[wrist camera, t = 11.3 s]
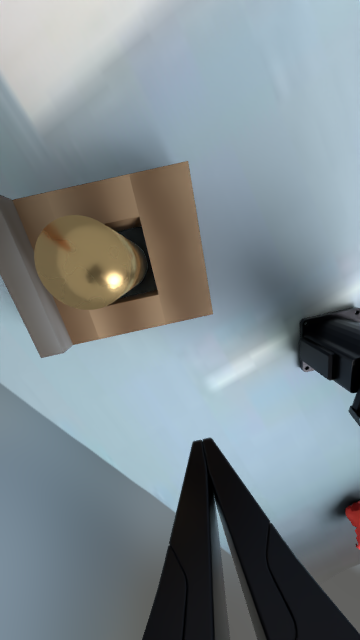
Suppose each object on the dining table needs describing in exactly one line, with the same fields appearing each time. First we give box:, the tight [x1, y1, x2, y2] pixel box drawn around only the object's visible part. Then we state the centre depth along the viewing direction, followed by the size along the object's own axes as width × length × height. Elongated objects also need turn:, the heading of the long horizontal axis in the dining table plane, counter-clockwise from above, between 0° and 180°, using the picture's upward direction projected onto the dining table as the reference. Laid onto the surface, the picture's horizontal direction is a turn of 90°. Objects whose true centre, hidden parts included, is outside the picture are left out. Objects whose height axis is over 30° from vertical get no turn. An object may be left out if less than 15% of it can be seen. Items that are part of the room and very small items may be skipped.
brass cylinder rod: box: [34, 215, 148, 310], centre depth 13 cm, size 4×4×9 cm
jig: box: [0, 161, 213, 358], centre depth 15 cm, size 14×11×5 cm
